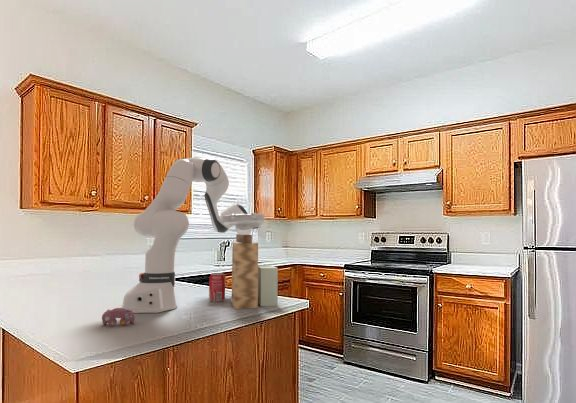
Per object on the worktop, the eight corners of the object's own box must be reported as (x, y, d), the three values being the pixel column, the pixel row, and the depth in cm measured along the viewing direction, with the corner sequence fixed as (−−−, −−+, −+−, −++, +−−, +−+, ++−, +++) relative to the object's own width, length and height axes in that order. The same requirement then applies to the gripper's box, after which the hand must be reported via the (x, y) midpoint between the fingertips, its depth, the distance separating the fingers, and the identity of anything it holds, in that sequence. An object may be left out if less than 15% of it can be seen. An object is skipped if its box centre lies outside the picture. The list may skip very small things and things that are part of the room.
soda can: (217, 299, 180) (218, 272, 181) (228, 300, 175) (228, 273, 176) (205, 301, 174) (206, 273, 175) (216, 302, 170) (216, 274, 171)
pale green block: (260, 306, 163) (261, 268, 164) (254, 299, 178) (254, 264, 179) (277, 305, 164) (277, 267, 166) (269, 299, 180) (269, 264, 181)
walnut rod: (243, 243, 159) (243, 234, 159) (236, 241, 180) (236, 234, 180) (251, 243, 160) (251, 234, 160) (243, 241, 181) (243, 234, 181)
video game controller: (101, 331, 126) (100, 313, 124) (103, 322, 130) (102, 304, 128) (134, 329, 129) (133, 312, 127) (135, 320, 133) (135, 303, 131)
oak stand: (235, 308, 157) (236, 243, 159) (231, 303, 169) (232, 242, 171) (257, 307, 159) (258, 243, 161) (252, 302, 171) (253, 242, 173)
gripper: (222, 217, 201) (220, 209, 188) (262, 215, 203) (263, 207, 190) (223, 229, 199) (221, 222, 186) (263, 227, 201) (264, 220, 188)
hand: (243, 214), depth 188 cm, fingers open, 8 cm apart
